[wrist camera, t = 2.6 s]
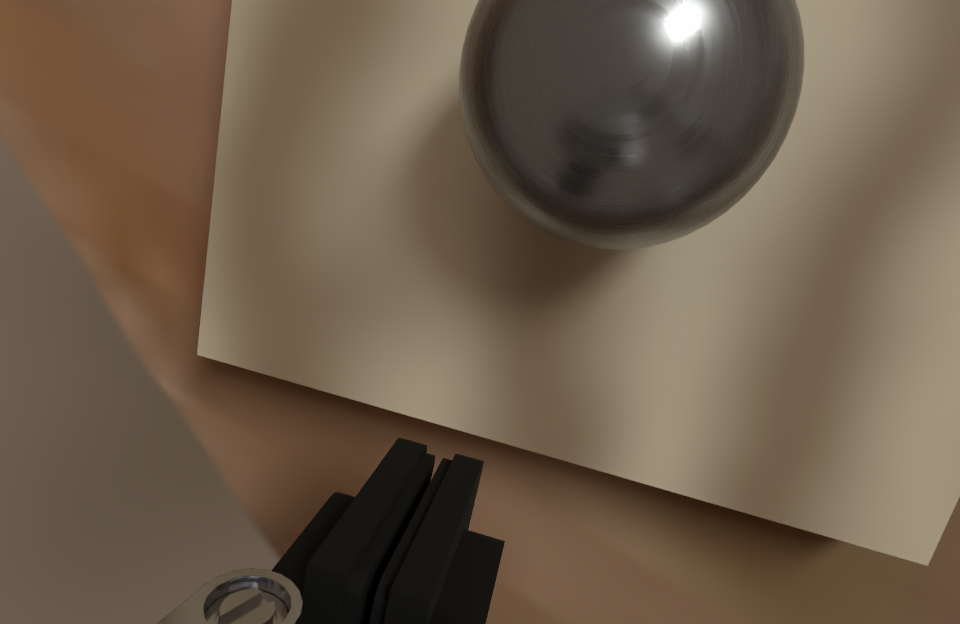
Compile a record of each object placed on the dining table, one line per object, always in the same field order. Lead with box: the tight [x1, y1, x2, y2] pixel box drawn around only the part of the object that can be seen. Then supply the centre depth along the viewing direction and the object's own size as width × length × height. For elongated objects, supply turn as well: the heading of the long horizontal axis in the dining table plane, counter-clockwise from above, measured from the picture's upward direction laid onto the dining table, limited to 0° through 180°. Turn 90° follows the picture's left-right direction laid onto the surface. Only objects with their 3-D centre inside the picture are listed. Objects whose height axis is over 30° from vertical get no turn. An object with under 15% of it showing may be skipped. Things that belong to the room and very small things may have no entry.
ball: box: [459, 0, 804, 250], centre depth 11 cm, size 6×6×6 cm
